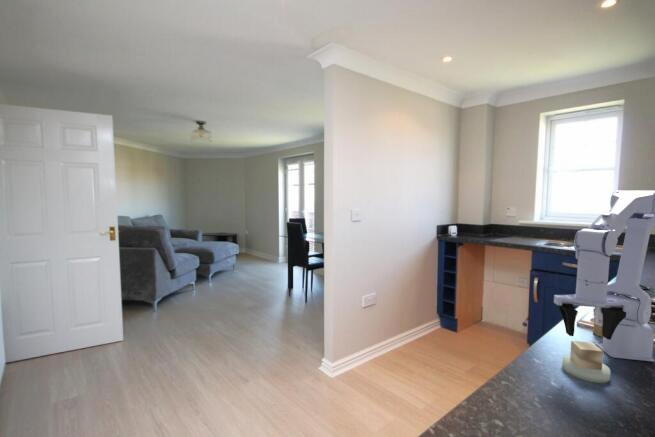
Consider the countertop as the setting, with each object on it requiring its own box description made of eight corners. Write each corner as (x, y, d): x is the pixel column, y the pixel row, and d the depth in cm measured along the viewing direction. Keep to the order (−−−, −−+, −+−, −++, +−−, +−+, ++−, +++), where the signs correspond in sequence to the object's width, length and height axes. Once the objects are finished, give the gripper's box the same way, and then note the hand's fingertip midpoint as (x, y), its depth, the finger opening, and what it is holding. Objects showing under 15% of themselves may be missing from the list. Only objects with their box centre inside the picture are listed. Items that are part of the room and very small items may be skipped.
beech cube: (591, 360, 80) (592, 342, 80) (601, 370, 76) (603, 351, 76) (570, 358, 81) (571, 340, 81) (579, 367, 77) (580, 349, 77)
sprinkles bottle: (613, 335, 99) (617, 292, 98) (608, 339, 97) (612, 295, 96) (595, 330, 103) (598, 288, 102) (589, 333, 100) (592, 291, 99)
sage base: (596, 365, 82) (596, 357, 82) (619, 385, 73) (619, 376, 73) (555, 360, 84) (556, 353, 84) (573, 380, 75) (573, 371, 75)
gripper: (565, 282, 75) (561, 340, 76) (640, 287, 71) (635, 347, 73) (551, 275, 81) (548, 327, 83) (619, 278, 78) (615, 333, 79)
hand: (587, 336), depth 78 cm, fingers open, 7 cm apart
